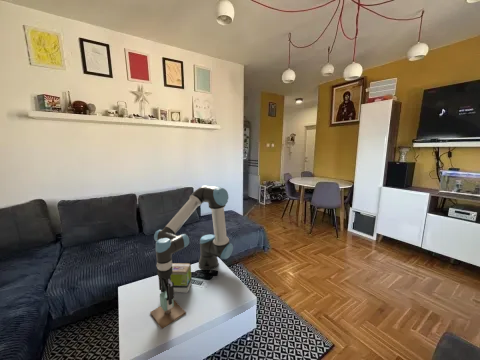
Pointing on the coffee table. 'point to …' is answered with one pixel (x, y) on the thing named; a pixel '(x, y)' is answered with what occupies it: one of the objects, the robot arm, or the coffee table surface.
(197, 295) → the coffee table surface
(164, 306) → the pale green upright block
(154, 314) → the board
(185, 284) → the tea box
